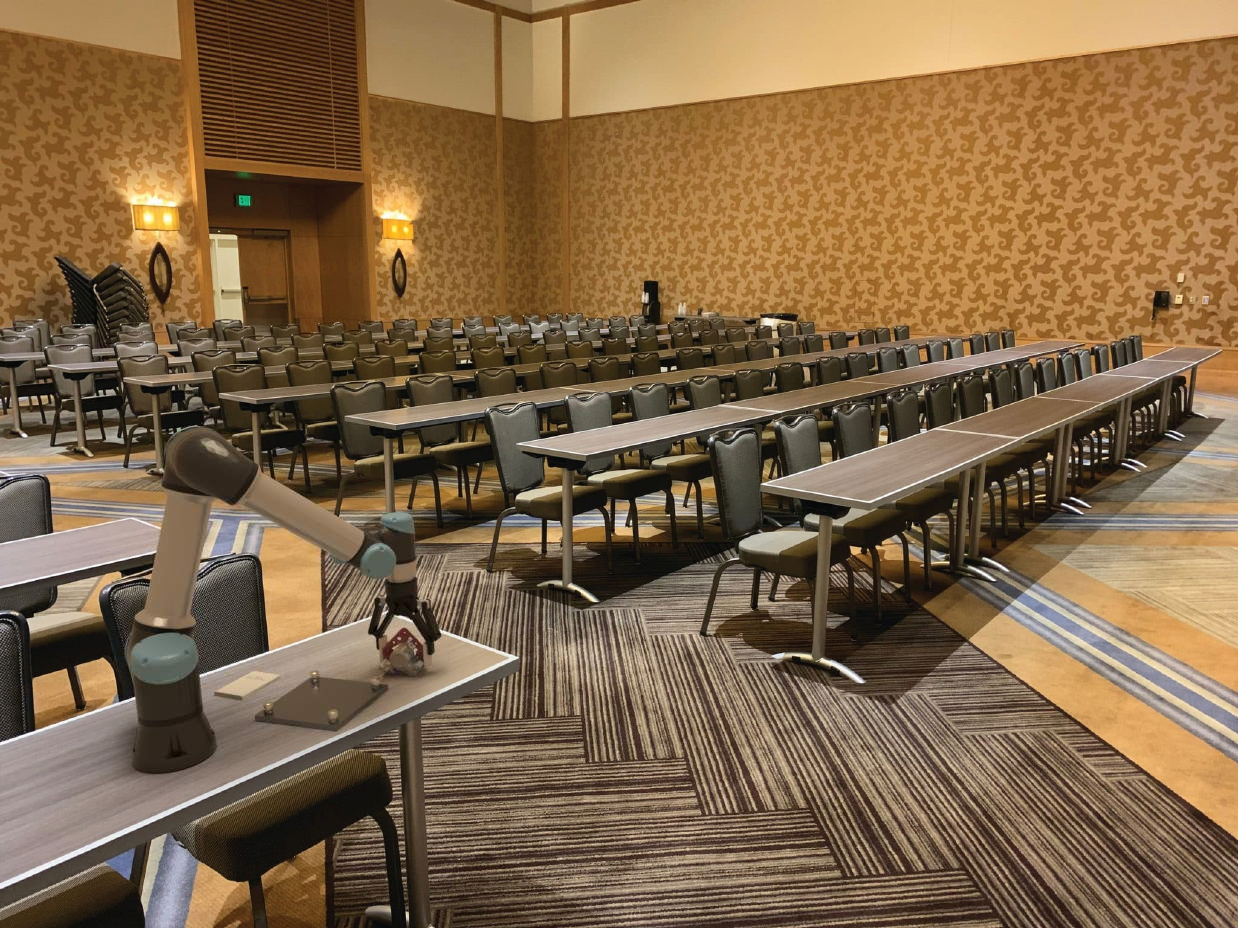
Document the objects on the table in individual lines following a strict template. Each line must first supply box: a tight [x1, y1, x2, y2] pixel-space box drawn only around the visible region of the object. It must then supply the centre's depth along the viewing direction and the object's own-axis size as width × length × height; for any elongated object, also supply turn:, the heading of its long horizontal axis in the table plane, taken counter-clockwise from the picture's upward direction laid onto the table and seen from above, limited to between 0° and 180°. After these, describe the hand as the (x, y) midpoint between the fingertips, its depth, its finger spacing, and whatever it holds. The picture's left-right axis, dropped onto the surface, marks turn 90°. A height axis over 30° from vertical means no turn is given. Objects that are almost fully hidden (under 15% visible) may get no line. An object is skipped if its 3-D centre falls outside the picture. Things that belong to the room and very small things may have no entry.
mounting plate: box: [254, 670, 389, 732], centre depth 202 cm, size 20×21×3 cm
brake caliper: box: [378, 627, 424, 681], centre depth 218 cm, size 11×11×12 cm
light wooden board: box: [213, 670, 281, 701], centre depth 212 cm, size 2×8×12 cm
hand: (406, 664), depth 220 cm, fingers closed on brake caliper, 11 cm apart
